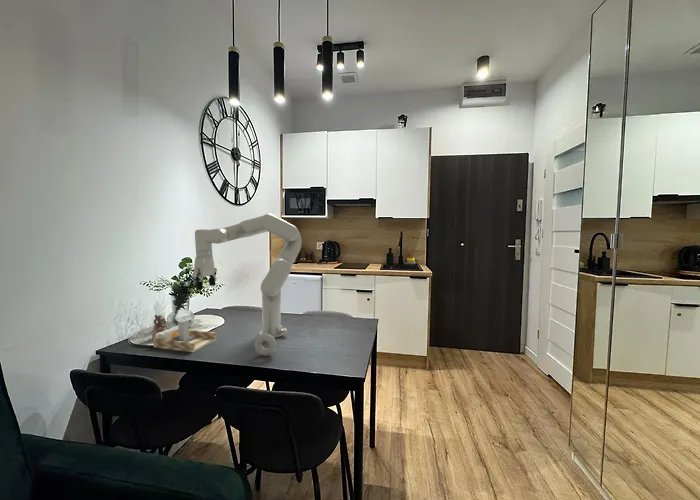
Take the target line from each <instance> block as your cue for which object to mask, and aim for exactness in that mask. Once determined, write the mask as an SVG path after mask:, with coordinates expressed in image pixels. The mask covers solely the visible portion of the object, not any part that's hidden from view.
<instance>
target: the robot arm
mask: <svg viewBox="0 0 700 500" xmlns="http://www.w3.org/2000/svg"><path fill="white" fill-rule="evenodd" d="M267 232H268V233H270V234H272V235H275V236H276V237H278V238H280V239H282V240H284V241H285V243H284V245H283V247H282V249H281V251H280V253H279V254H278V256H277V258H276V259H275V260H274V261H273V263H272V265H271V267H269V270H268V272H267V274H266V275H265V277H264V278H263V280H262V282H261V283H260V291H261V293H262V294H261V324H262V326H261V330H260V331H259V333H258V336H259V335H261V334H270V335H272V336H273V337H274V338H275V339H276V338H279V337H282V336H283V335H284V334H287V333H288V328H287V327H286V328H284V327H283V325H281V323H282V321H281V318H282V317H281V315H282V314H281V313H282V311H281V304H282V303H281V302H282V301H281V300H282V298H281V294H282V293H281V292H282V291H281V290H282V288H283V286H284V284H285V282H286V281H287V279H288V278H289V276H290V274H291V270H292V267H293V265H294V262H295V261H296V259H297V258H298V256H299V253H300V251H301V248H302V242H303V241H302V236H301V233H300V232H299V230H298V228H297V226H295V225H293V224H291V223H289V222H287V221H286V220H284V219H282V218H280V217H278V216H275V215H274V214H272V213H265V214H263V215H261V216H257V217H253V218H248V219H246V220H245V219H244V220H243V221H241V222H239V223H236V224H233V225H229V226H226V227H223V228H222V227H220V228H213V229H202V228H201V229H196V230H195V231H194V244H195V245H194V246H195V259H194V269H193V270H194V272H192V275H191V276H192V277H193V280H194V281H195V286H196V287H195V288H196V290H198V291H200V290H203V289H204V284H203V278H205V277H208V284H209V286H211V287H212V286H213V287H215V286H216V278H217V277H216V275H217V272H218V268H216V267H215V261H214V256H213V244H215V245H216V244H217V245H218V244H223V243H227V242H230V241H234V240H237V239H242V238H243V239H244V238H249V237H253V236H256V235H261V234H264V233H267Z"/></svg>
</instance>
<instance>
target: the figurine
mask: <svg viewBox="0 0 700 500" xmlns="http://www.w3.org/2000/svg"><path fill="white" fill-rule="evenodd" d="M153 323H154V324H153V328H152V334H151V335H152V336H151V339H152V340H153V339H154V338H156V334H157V333H160V332H163V331H165V330H168V322H167V320H166V317H165V316H164V315H163V314H159V315H157V314H155V315H154V320H153Z"/></svg>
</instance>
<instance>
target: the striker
mask: <svg viewBox="0 0 700 500" xmlns="http://www.w3.org/2000/svg"><path fill="white" fill-rule="evenodd" d="M177 323H178V324H177V326H178V333H179V335H177V336H174V337H173V340H174V341H182V342H189V341H191V340H193V339H194V337H191V336H189V330H190V320H189V319H182V320H179V321H177Z"/></svg>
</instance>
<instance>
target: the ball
mask: <svg viewBox="0 0 700 500" xmlns="http://www.w3.org/2000/svg"><path fill="white" fill-rule="evenodd" d="M177 335H179V333H178V332H175V333H173V334H172V335H171V339H172V340H173V337H174V336H177Z"/></svg>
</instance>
